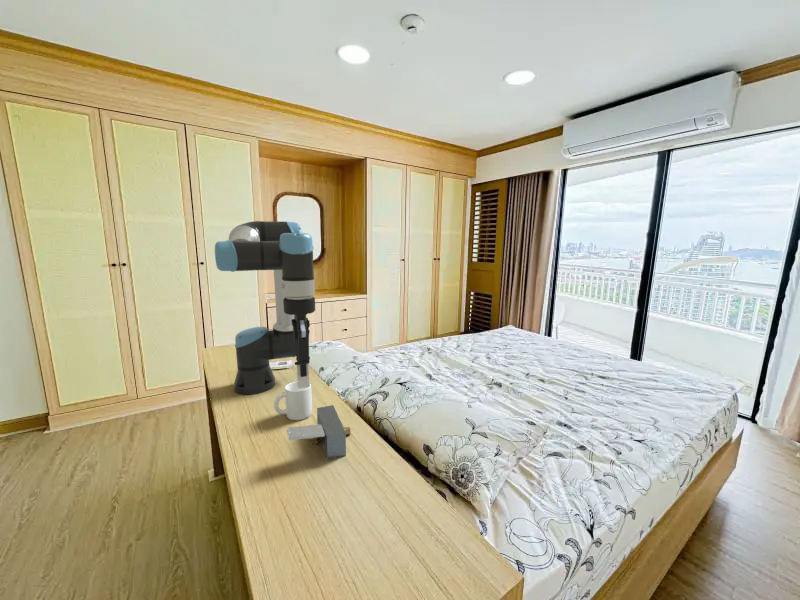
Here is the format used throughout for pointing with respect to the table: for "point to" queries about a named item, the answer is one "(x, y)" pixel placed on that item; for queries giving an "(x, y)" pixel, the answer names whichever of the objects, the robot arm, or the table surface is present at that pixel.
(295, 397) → the mug
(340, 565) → the table surface
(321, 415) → the block
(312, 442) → the lynch pin
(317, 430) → the tab
